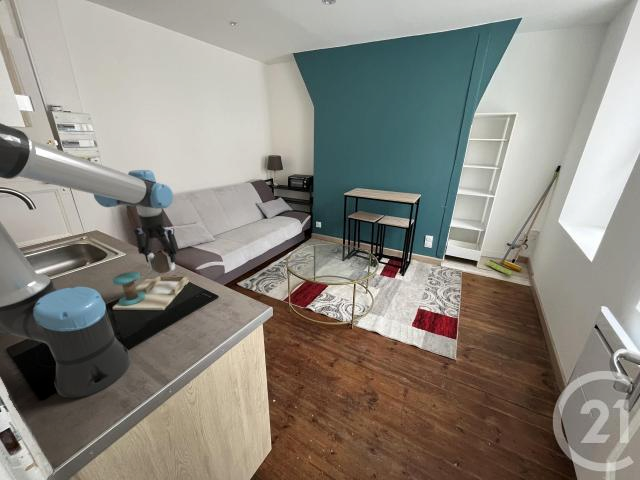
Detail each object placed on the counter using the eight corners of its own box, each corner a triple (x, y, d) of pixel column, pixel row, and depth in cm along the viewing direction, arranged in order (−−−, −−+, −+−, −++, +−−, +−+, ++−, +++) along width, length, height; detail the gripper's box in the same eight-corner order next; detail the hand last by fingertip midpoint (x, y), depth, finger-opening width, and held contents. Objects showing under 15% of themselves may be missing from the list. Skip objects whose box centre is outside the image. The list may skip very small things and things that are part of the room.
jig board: (163, 310, 95) (157, 284, 91) (113, 309, 94) (104, 284, 90) (188, 281, 113) (184, 259, 109) (146, 281, 113) (141, 259, 109)
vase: (158, 277, 101) (153, 256, 97) (151, 271, 105) (145, 251, 101) (177, 270, 106) (172, 250, 102) (169, 265, 110) (164, 246, 106)
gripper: (182, 211, 100) (192, 265, 108) (130, 210, 99) (144, 264, 108) (172, 217, 93) (183, 274, 101) (115, 216, 92) (132, 273, 101)
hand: (163, 269), depth 104 cm, fingers closed on vase, 7 cm apart
